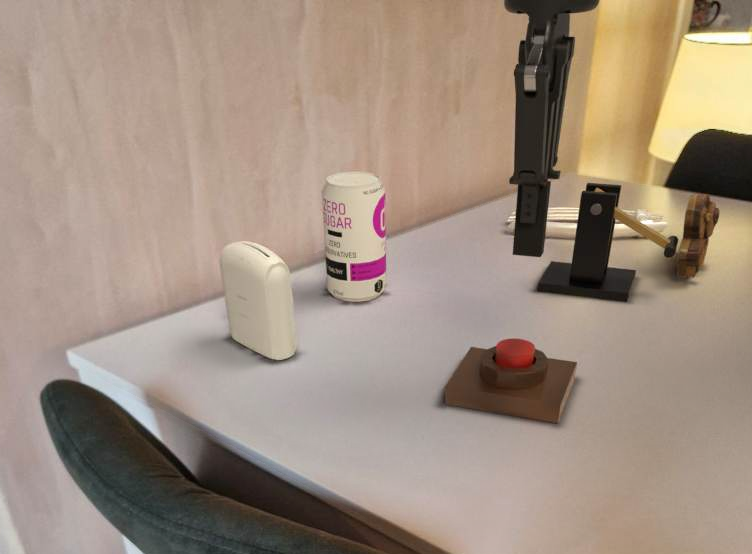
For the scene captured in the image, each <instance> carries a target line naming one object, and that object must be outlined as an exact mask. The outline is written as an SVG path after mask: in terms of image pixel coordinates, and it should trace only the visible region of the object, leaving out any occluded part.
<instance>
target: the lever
mask: <svg viewBox="0 0 752 554" xmlns="http://www.w3.org/2000/svg"><path fill="white" fill-rule="evenodd" d="M594 192H604V191H602V190H601V189H599V188H596V189H595V191H594ZM622 210H623V209H620V208H619V207H618V208H617V207H615V212H614V218H615V219H616V220H618V221H620V222H619V223H620V224H625V225H626V226H628V227H630V228H631V229H633V230H634V231H636V232H638V233H639V234H641V235H643V236H644V237H643V238H646V239H647V240H649V241H651V242H653V243H655V244H656V245H658V246H659V247H661V248H663V256H664V257H665V258H667V259H672V258H674V257H675V256H676V252H677V248H678V245H679V238H678V236H676V235H673V234H672V235H669V236H668V237H667V236H665V235H663V234H661V233H658V232H656V231H655V230H653V229H651V228H650V227H648V226H646V225H645V224H643V223H641V222H640V221H638V220H637V219H635V218H633V217H632V216H630V215H628V214H627V213H625V212H623V211H622Z"/></svg>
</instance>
